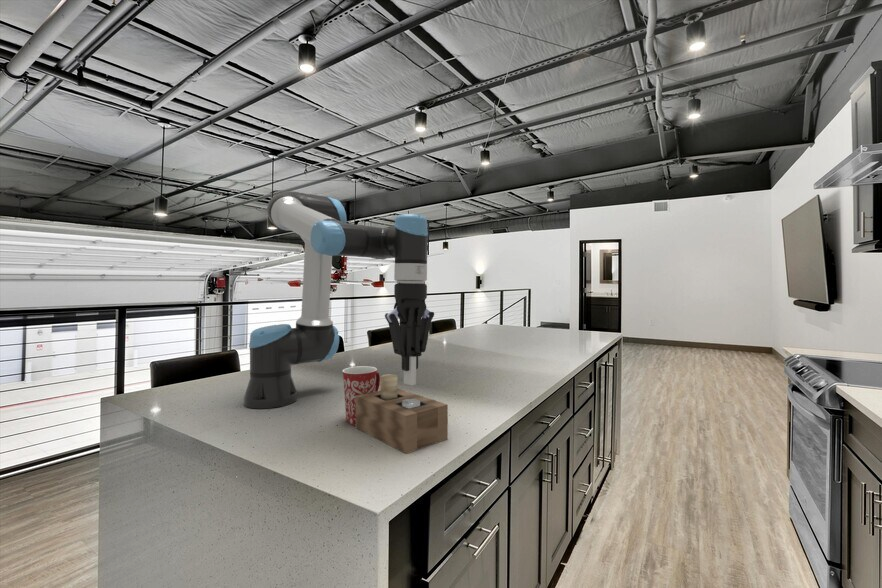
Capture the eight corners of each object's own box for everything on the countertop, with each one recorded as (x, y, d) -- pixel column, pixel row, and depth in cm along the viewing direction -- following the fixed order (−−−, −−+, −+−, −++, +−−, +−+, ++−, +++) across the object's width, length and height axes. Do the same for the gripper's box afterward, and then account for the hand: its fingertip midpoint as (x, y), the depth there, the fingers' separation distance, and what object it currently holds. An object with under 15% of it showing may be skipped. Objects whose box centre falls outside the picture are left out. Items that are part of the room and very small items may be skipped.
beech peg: (377, 405, 97) (377, 376, 97) (391, 402, 100) (391, 373, 100) (386, 409, 94) (386, 378, 94) (400, 406, 97) (400, 376, 97)
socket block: (355, 427, 98) (355, 395, 98) (395, 416, 106) (394, 387, 106) (405, 453, 82) (405, 415, 82) (447, 438, 90) (447, 404, 90)
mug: (362, 428, 97) (362, 374, 97) (335, 422, 102) (334, 370, 101) (392, 414, 108) (391, 365, 108) (366, 409, 113) (366, 362, 113)
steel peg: (398, 433, 91) (398, 401, 91) (412, 428, 94) (412, 397, 94) (409, 438, 88) (409, 405, 88) (423, 433, 91) (423, 401, 90)
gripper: (397, 282, 83) (396, 392, 84) (442, 282, 92) (441, 382, 92) (377, 282, 89) (377, 385, 89) (422, 282, 97) (421, 376, 98)
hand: (409, 383), depth 91 cm, fingers closed
